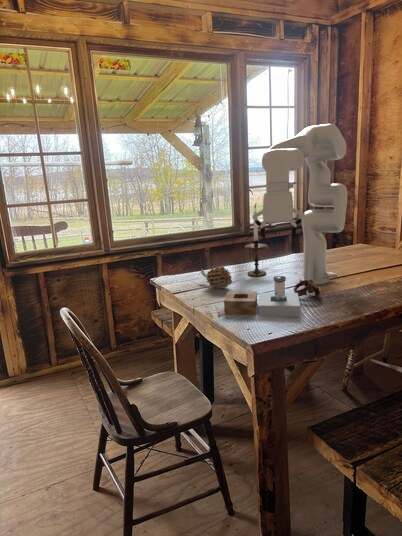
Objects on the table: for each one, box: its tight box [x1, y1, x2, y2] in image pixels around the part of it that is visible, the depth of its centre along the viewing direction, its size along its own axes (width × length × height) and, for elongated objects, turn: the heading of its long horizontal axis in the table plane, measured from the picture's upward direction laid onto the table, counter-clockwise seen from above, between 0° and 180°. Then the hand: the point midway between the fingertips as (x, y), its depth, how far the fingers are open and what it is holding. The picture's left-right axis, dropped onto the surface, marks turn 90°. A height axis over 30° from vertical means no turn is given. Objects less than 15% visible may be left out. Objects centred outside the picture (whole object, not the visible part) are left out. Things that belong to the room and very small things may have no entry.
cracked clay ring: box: [293, 280, 322, 301], centre depth 143 cm, size 12×10×8 cm
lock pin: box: [273, 275, 287, 302], centre depth 131 cm, size 4×4×12 cm
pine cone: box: [200, 266, 233, 289], centre depth 164 cm, size 22×10×10 cm, turn 38°
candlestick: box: [244, 203, 268, 278], centre depth 176 cm, size 11×11×35 cm
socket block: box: [257, 292, 301, 318], centre depth 132 cm, size 14×14×4 cm
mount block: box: [223, 290, 258, 316], centre depth 135 cm, size 11×11×5 cm
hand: (278, 238), depth 126 cm, fingers open, 9 cm apart
